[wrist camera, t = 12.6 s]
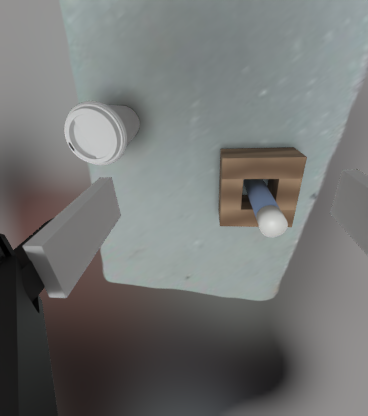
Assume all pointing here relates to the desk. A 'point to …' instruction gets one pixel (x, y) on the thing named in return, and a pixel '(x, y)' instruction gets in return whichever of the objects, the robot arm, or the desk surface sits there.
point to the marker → (265, 208)
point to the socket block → (258, 169)
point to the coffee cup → (100, 131)
